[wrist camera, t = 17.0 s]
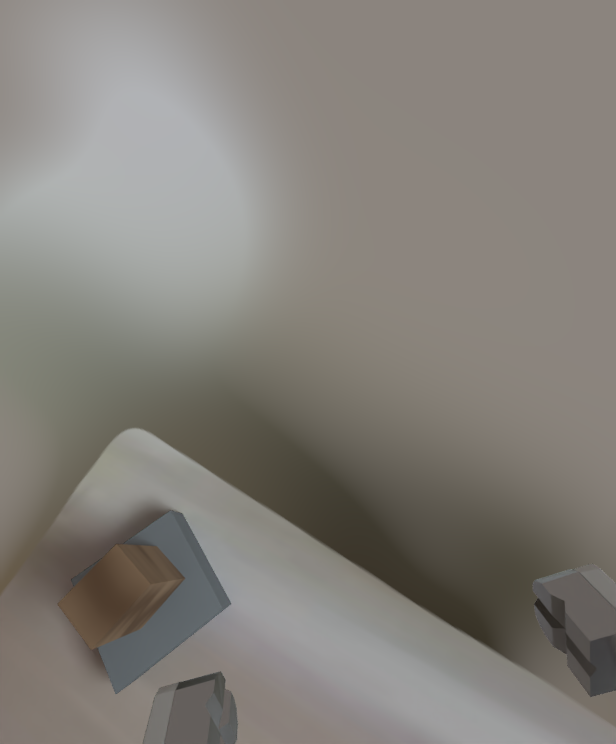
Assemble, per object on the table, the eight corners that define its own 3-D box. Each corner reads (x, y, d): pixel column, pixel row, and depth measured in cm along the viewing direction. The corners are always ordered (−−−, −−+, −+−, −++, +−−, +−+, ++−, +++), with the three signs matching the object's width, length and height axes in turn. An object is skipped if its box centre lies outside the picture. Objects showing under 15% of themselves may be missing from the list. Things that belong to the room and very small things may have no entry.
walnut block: (140, 628, 32) (91, 650, 25) (112, 593, 33) (57, 603, 26) (185, 578, 34) (150, 584, 26) (156, 546, 35) (116, 543, 28)
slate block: (136, 678, 34) (115, 694, 30) (94, 576, 37) (70, 579, 34) (232, 603, 36) (223, 609, 33) (183, 514, 40) (170, 510, 36)
